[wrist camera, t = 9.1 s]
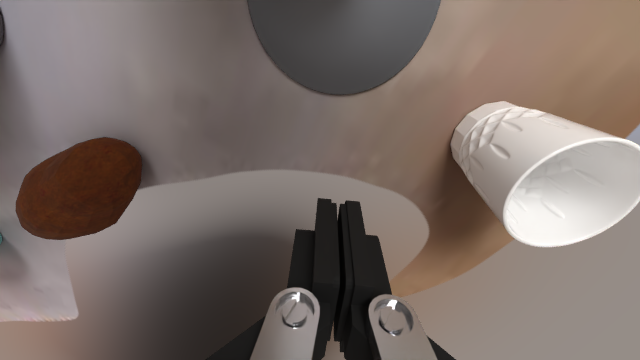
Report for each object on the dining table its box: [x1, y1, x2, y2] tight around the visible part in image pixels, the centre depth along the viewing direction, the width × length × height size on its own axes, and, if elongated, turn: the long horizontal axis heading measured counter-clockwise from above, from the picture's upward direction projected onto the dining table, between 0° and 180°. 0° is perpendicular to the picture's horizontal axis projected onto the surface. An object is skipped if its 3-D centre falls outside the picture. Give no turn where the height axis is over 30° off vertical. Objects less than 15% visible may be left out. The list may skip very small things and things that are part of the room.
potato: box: [16, 137, 142, 240], centre depth 24 cm, size 8×12×8 cm, turn 128°
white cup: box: [450, 101, 640, 247], centre depth 20 cm, size 8×8×10 cm
